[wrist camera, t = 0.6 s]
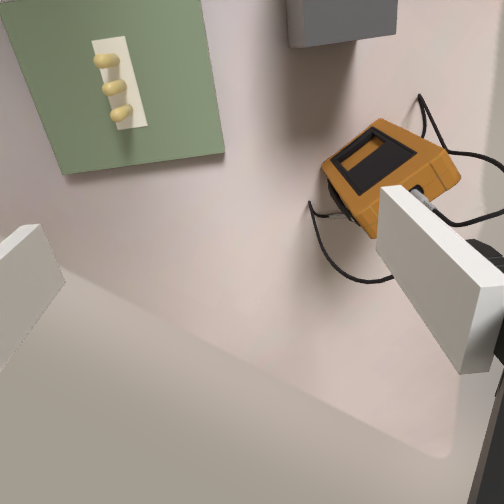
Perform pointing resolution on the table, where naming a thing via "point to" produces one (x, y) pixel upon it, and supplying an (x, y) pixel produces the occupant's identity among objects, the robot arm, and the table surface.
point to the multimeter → (390, 175)
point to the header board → (117, 79)
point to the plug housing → (338, 21)
